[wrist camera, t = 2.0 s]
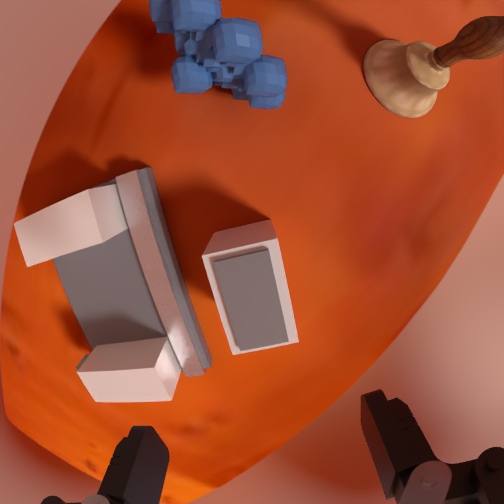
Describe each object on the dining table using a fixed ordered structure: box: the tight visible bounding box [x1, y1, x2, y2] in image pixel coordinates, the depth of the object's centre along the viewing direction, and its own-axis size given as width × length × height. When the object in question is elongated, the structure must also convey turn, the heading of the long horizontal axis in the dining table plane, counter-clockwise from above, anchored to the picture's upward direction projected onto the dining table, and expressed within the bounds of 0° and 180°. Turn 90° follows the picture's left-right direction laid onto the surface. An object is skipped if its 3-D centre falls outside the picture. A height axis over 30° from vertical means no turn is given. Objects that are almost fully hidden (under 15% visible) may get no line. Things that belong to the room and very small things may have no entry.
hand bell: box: [363, 16, 504, 118], centre depth 14 cm, size 8×8×16 cm
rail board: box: [14, 167, 212, 402], centre depth 24 cm, size 20×13×6 cm, turn 13°
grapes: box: [149, 0, 287, 109], centre depth 16 cm, size 12×7×12 cm, turn 48°
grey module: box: [202, 219, 299, 355], centre depth 23 cm, size 8×5×7 cm, turn 13°
